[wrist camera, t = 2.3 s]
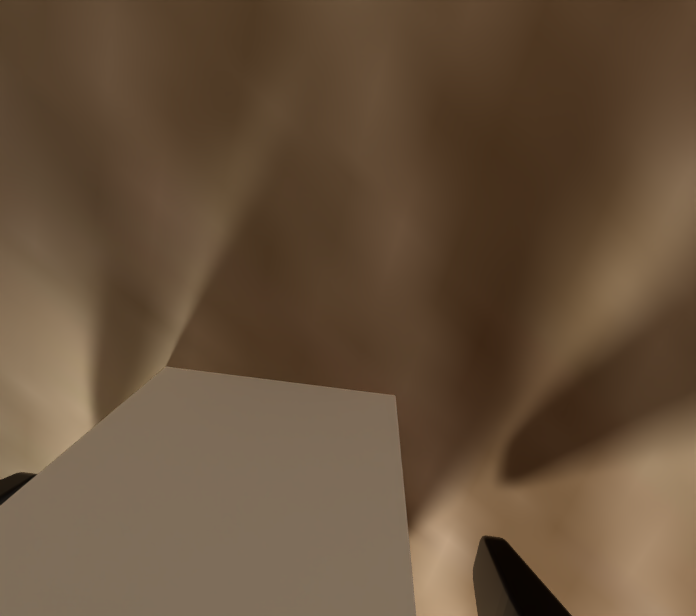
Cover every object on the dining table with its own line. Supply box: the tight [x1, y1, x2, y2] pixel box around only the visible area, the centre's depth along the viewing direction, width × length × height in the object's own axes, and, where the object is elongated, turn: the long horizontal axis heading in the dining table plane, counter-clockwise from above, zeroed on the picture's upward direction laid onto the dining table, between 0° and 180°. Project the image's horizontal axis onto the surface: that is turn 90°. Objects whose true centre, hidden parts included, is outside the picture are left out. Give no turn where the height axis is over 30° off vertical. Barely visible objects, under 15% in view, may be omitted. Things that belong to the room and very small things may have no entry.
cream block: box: [0, 367, 416, 616], centre depth 6 cm, size 5×5×6 cm
